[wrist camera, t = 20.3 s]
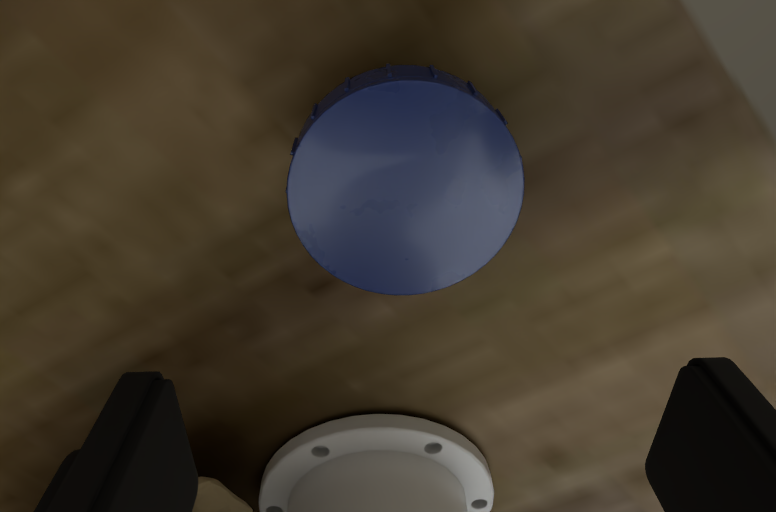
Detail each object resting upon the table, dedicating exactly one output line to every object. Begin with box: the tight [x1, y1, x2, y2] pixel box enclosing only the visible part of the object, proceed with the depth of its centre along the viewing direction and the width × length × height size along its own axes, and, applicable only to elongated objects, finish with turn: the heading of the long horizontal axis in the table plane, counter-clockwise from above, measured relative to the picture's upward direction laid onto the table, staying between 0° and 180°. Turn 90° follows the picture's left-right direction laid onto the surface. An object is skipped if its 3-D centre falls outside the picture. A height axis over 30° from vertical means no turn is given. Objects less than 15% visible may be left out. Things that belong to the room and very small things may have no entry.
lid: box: [286, 63, 524, 295], centre depth 16 cm, size 7×7×2 cm
